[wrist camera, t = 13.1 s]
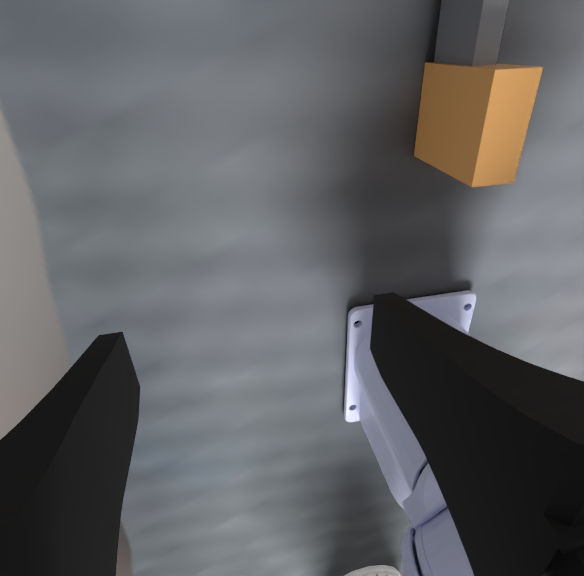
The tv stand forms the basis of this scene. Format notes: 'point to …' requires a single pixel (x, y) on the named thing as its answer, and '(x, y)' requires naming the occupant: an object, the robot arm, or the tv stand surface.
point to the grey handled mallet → (474, 97)
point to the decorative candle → (375, 571)
